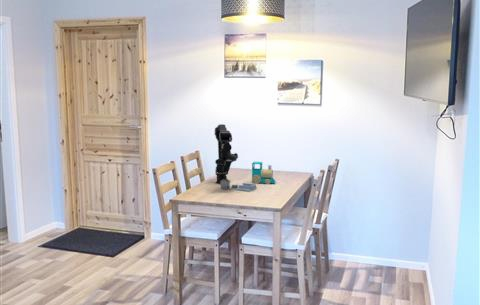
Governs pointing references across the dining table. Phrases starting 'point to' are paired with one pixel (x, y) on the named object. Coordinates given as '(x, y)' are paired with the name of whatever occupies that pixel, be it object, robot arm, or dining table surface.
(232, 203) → the dining table surface
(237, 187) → the chassis
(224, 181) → the grey block with tab
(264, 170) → the toy train
